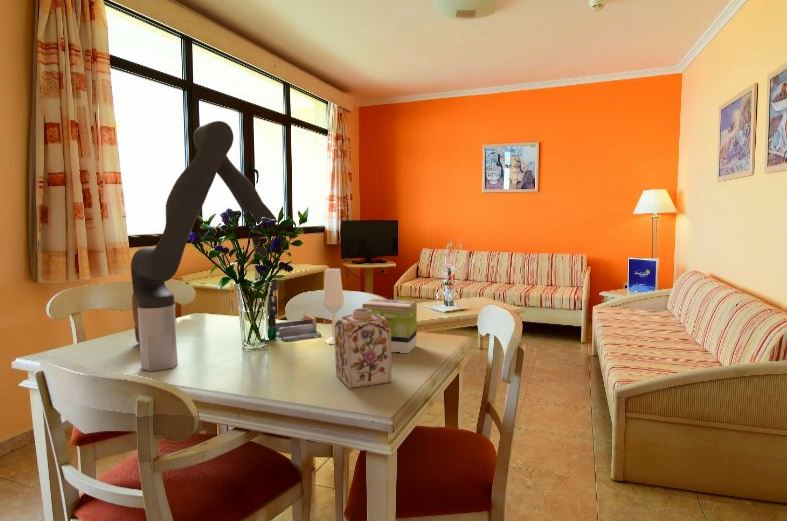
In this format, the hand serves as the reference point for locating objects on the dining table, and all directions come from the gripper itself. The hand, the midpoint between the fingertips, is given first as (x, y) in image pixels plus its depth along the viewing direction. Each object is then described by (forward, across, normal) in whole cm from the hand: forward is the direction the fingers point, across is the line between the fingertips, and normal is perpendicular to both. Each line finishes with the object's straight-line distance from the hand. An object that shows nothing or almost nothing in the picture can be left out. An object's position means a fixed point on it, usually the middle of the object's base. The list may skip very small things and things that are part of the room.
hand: (268, 324), depth 167 cm
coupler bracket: (+5, +3, -10) cm, 12 cm away
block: (+5, +14, +34) cm, 38 cm away
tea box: (+5, -31, -30) cm, 43 cm away
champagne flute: (+5, -15, -18) cm, 24 cm away
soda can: (+5, 0, 0) cm, 5 cm away
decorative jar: (+5, -52, -10) cm, 53 cm away
